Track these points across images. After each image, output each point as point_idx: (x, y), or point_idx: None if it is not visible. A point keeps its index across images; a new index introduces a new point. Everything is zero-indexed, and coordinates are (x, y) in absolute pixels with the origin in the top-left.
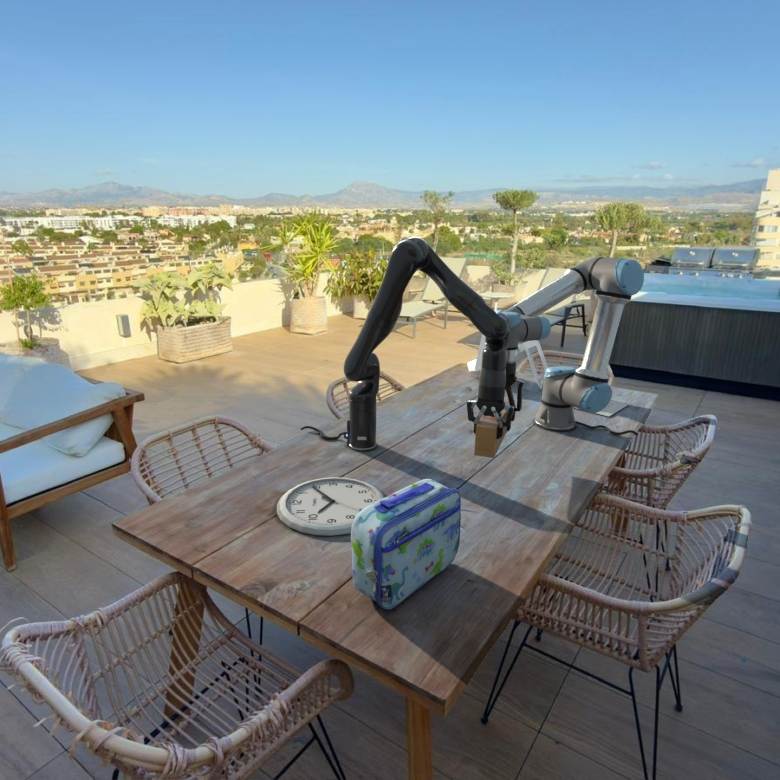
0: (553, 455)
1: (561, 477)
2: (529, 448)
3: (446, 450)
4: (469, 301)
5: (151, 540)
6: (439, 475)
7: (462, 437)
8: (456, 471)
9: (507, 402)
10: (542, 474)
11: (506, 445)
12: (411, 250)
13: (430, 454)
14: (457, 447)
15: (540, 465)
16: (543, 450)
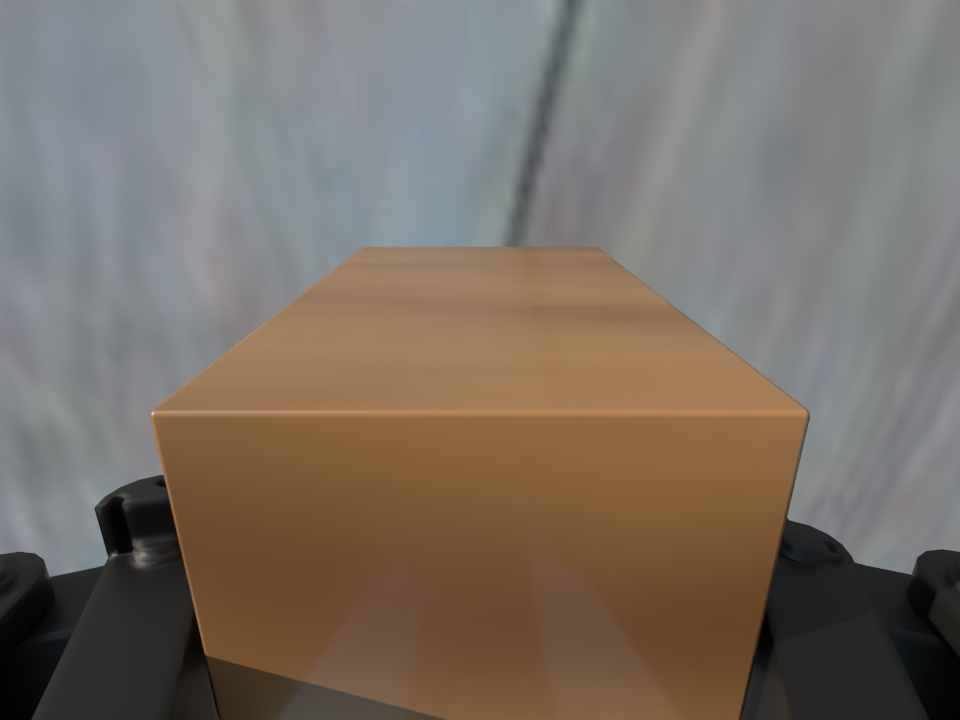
0: (955, 141)
1: (935, 501)
2: (748, 61)
3: (113, 401)
4: None
5: None
6: None
7: (85, 57)
8: None
9: (662, 609)
10: (816, 506)
11: (530, 81)
12: None
13: (55, 503)
14: (157, 313)
15: (816, 382)
16: (879, 54)
